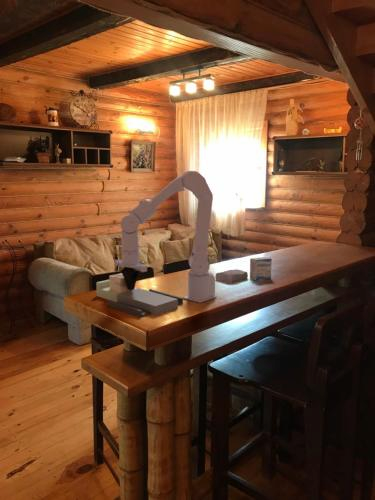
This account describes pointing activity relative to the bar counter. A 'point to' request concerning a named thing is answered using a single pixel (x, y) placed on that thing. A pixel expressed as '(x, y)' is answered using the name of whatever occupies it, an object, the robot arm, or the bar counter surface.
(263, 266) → the medicine box
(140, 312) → the trap causeway
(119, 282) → the ash block
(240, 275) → the stone block
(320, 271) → the bar counter surface
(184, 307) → the bar counter surface
